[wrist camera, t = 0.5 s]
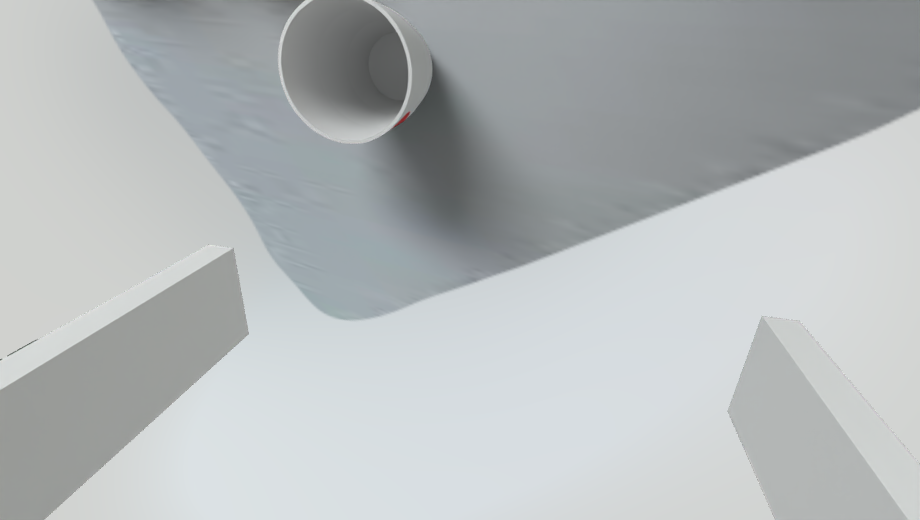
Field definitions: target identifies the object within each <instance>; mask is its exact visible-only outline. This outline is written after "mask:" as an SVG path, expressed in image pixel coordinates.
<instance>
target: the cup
mask: <svg viewBox="0 0 920 520" xmlns="http://www.w3.org/2000/svg"><path fill="white" fill-rule="evenodd" d="M278 67H279V74H280V79H281V83H282V86H283V89H284V92H285V94H286V97H287V99H288V101H289V103H290V104H291V106H292V108H293V109H294V111H295V112H296V113H297V115H298V116H299V117H300V118H301V119H302V121H303V122H304V123H305V124H306V125H308V126H309V127H310V128H311V129H312V130H314V131H315V132H317V133H318V134H320V135H322V136H323V137H325V138H328V139H330V140H333V141H336V142H340V143H347V144H358V143H365V142H368V141H371V140H374V139H376V138H378V137H380V136H382V135H383V134H385V133H386V132H388V131H389V130H391V129H392V128H394V127H395V126H397V125H399V124H400V123H402V122H403V121H404V120H406V119H407V118H408V117H409V116H410V115H411V114H412V113H413V112H414V111H415V109H416V108H417V107H418V105H419V104H420V103H421V101H422V100H423V99H424V97H425V96H426V94H427V92H428V90H429V87H430V84H431V79H432V59H431V55H430V52H429V49H428V46H427V44H426V42H425V40H424V39H423V37H422V36H421V35H420V33H419V32H418V31H417V30H416V29H415V28H414V27H413V26H412V25H411V24H410V23H409V22H408V21H407V20H406V19H405V18H403V17H402V16H401V15H400V14H399V13H397V12H396V11H394V10H392V9H390V8H388V7H386V6H384V5H382V4H380V3H378V2H375V1H373V0H305V1H304V2H303V3H302V4H300V5H299V6H298V7H297V8H296V9H295V11H294V12H293V13H292V14H291V16H290V17H289V19H288V21H287V23H286V25H285V27H284V29H283V32H282V35H281V39H280V43H279V50H278Z"/></svg>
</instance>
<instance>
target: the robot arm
mask: <svg viewBox="0 0 920 520" xmlns="http://www.w3.org/2000/svg"><path fill="white" fill-rule="evenodd" d="M248 334H249V332H248V327H247V321H246V316H245V311H244V304H243V299H242V293H241V288H240V282H239V276H238V271H237V265H236V260H235V254H234V249H233V248H229V247H220V246H213V245H207V246H205V247H204V248H202V249H200V250H198V251H196V252H194V253H193V254H191V255H189V256H187V257H185V258H184V259H182V260H180V261H178V262H177V263H175V264H173V265H171V266H169V267H168V268H166V269H164V270H162V271H160V272H159V273H157V274H155V275H153V276H151V277H150V278H148V279H146V280H144V281H142V282H141V283H139V284H137V285H135V286H133V287H132V288H130V289H128V290H126V291H124V292H123V293H121V294H119V295H117V296H115V297H114V298H112V299H110V300H108V301H106V302H105V303H103V304H101V305H99V306H97V307H96V308H94V309H92V310H91V311H89V312H87V313H85V314H83V315H81V316H80V317H78V318H76V319H74V320H72V321H71V322H69V323H67V324H65V325H63V326H62V327H60V328H58V329H56V330H55V331H53V332H51V333H49V334H47V335H46V336H44V337H42V338H40V339H37V340H35V341H33V342H31V343H29V344H27V345H26V346H24V347H22V348H20V349H18V350H17V351H15V352H13V353H11V354H10V355H8V356H7V357H6V358H4V359H0V520H44V519H45V518H46V517H48V516H49V515H50V514H51V513H52V512H53V511H54V510H55V509H56V508H57V507H59V506H60V505H61V504H62V503H63V502H64V501H65V500H66V499H67V498H68V497H70V496H71V495H72V494H73V493H74V492H75V491H76V490H77V489H78V488H80V486H82V485H83V484H84V483H85V482H86V481H87V480H88V479H89V478H91V477H92V476H93V475H94V474H95V473H96V472H97V471H98V470H99V469H101V468H102V467H103V466H104V465H105V464H106V463H107V462H108V461H109V460H110V459H111V458H113V457H114V456H115V455H116V454H117V453H118V452H119V451H120V450H121V449H122V448H124V447H125V446H126V445H127V444H128V443H129V442H130V441H131V440H132V439H134V438H135V437H136V436H137V435H138V434H139V433H140V432H141V431H142V430H144V429H145V427H147V426H148V425H149V424H150V423H151V422H152V421H153V420H155V418H157V417H158V416H159V415H160V414H161V413H162V412H163V411H164V410H165V409H167V408H168V407H169V406H170V405H171V404H172V403H173V402H174V401H175V400H176V399H178V398H179V397H180V396H181V395H182V394H183V393H184V392H185V391H186V390H188V389H189V388H190V387H191V386H192V385H193V384H194V383H195V382H196V381H198V380H199V379H200V378H201V377H202V376H203V375H204V374H205V373H206V372H207V371H208V370H210V369H211V368H212V367H213V366H214V365H215V364H216V363H217V362H218V361H220V360H221V359H222V358H223V357H224V356H225V355H226V354H227V353H228V352H229V351H230V350H232V349H233V348H234V347H235V346H236V345H237V344H238V343H239V342H240V341H242V340H243V339H244V338H245V337H246V336H247V335H248ZM728 413H729V415H730V418H731V420H732V423H733V425H734V427H735V429H736V432H737V434H738V436H739V438H740V441H741V443H742V445H743V448H744V450H745V452H746V455H747V457H748V459H749V461H750V464H751V466H752V468H753V471H754V473H755V475H756V477H757V480H758V482H759V484H760V486H761V489H762V491H763V493H764V496H765V498H766V500H767V502H768V505H769V507H770V509H771V511H772V514H773V516H774V518H775V520H920V463H919V462H918V461H917V460H916V458H915V457H914V456H913V455H912V454H911V453H910V451H909V450H908V449H907V448H906V447H905V445H904V444H903V443H902V442H901V441H900V440H899V438H898V437H897V436H896V435H895V434H894V432H893V431H892V430H891V429H890V428H889V426H888V425H887V424H886V423H885V422H884V420H883V419H882V418H881V417H880V416H879V415H878V413H877V412H876V411H875V410H874V409H873V408H872V406H871V405H870V404H869V403H868V402H867V400H866V399H865V398H864V397H863V396H862V394H861V393H860V392H859V391H858V390H857V388H856V387H855V386H854V385H853V384H852V383H851V381H850V380H849V379H848V378H847V377H846V376H845V374H844V373H843V372H842V371H841V369H840V368H839V367H838V366H837V365H836V363H835V362H834V361H833V360H832V359H831V358H830V356H829V355H828V354H827V353H826V352H825V350H824V349H823V348H822V347H821V346H820V344H819V343H818V342H817V341H816V340H815V339H814V337H813V336H812V335H811V334H810V333H809V331H808V330H807V329H806V328H805V327H804V326H803V324H802V323H801V322H800V321H797V320H789V319H781V318H773V317H766V316H762V317H761V320H760V323H759V325H758V329H757V331H756V334H755V337H754V340H753V342H752V345H751V348H750V350H749V353H748V356H747V359H746V362H745V365H744V367H743V370H742V373H741V375H740V378H739V381H738V384H737V387H736V390H735V392H734V395H733V398H732V401H731V403H730V406H729V409H728Z"/></svg>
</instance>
